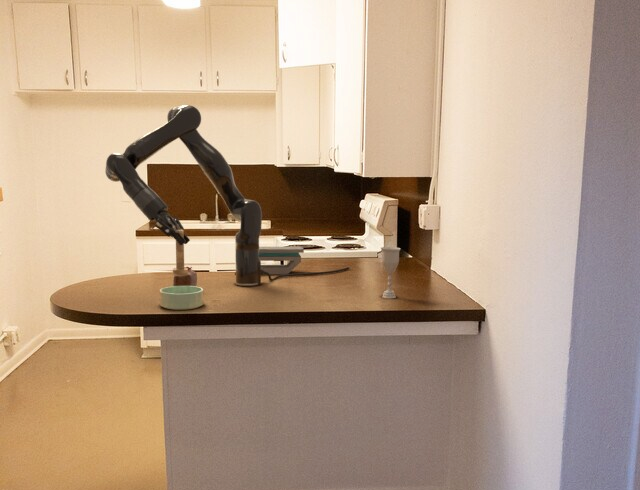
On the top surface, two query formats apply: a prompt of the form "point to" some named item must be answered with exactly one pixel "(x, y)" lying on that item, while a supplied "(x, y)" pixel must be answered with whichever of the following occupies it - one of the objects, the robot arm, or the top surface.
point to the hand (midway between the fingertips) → (185, 242)
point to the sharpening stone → (280, 258)
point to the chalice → (390, 266)
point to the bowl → (181, 297)
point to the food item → (186, 279)
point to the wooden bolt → (180, 259)
